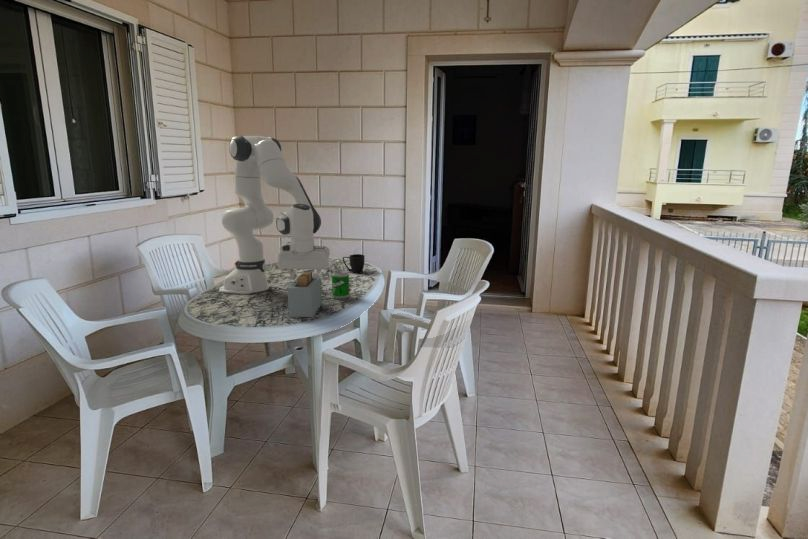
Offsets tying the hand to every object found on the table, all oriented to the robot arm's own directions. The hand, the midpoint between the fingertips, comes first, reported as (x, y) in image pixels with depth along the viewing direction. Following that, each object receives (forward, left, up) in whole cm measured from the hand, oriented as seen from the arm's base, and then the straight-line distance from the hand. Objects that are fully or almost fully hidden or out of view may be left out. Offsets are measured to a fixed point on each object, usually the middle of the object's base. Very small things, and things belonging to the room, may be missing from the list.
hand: (304, 279), depth 181 cm
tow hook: (+9, +31, -13) cm, 35 cm away
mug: (+10, +67, -13) cm, 69 cm away
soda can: (+11, +19, -13) cm, 26 cm away
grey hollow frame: (0, 0, -13) cm, 13 cm away
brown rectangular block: (0, 0, -6) cm, 6 cm away
